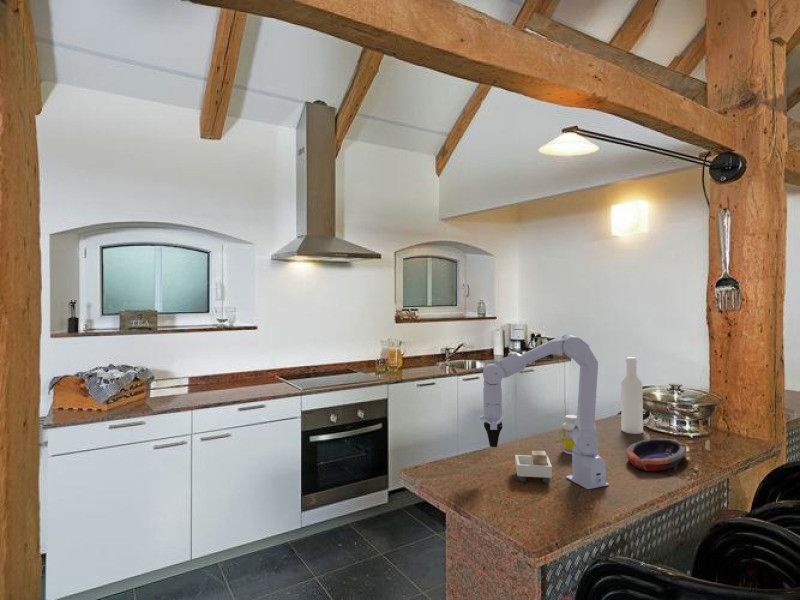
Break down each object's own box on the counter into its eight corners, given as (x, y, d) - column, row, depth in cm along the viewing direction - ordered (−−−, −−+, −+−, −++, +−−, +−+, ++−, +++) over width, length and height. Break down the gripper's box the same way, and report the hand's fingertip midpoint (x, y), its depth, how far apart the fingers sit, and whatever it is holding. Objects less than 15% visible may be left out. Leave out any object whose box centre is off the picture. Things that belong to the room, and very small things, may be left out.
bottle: (647, 433, 187) (646, 358, 187) (629, 434, 186) (628, 359, 186) (634, 427, 195) (634, 355, 195) (617, 429, 194) (616, 356, 194)
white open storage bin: (548, 473, 148) (547, 456, 148) (552, 484, 139) (551, 466, 139) (515, 471, 149) (515, 454, 149) (517, 482, 141) (517, 465, 141)
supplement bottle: (566, 448, 172) (566, 413, 172) (585, 451, 167) (584, 415, 167) (560, 453, 167) (559, 416, 166) (578, 456, 162) (578, 419, 162)
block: (545, 467, 145) (545, 451, 145) (546, 472, 141) (546, 455, 141) (531, 466, 146) (531, 450, 146) (533, 471, 142) (533, 454, 142)
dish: (697, 456, 161) (697, 442, 161) (661, 481, 141) (661, 464, 141) (650, 446, 173) (650, 432, 173) (610, 467, 153) (610, 451, 153)
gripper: (479, 397, 154) (480, 438, 154) (479, 408, 139) (480, 453, 140) (501, 397, 153) (502, 439, 153) (503, 408, 138) (504, 454, 138)
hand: (493, 446), depth 146 cm, fingers closed
